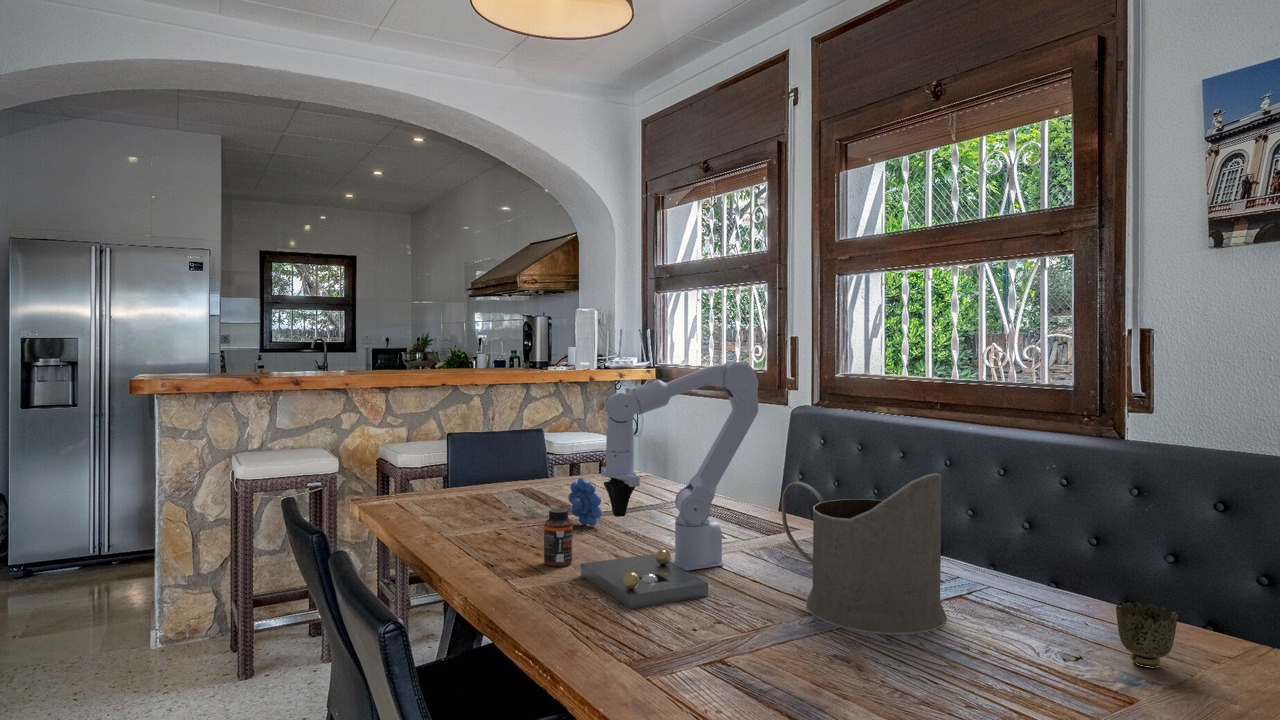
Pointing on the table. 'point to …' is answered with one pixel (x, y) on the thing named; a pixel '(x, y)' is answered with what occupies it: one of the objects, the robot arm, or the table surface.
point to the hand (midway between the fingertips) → (619, 515)
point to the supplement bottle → (558, 538)
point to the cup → (1146, 632)
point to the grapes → (585, 502)
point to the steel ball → (649, 578)
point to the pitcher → (877, 560)
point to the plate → (668, 589)
